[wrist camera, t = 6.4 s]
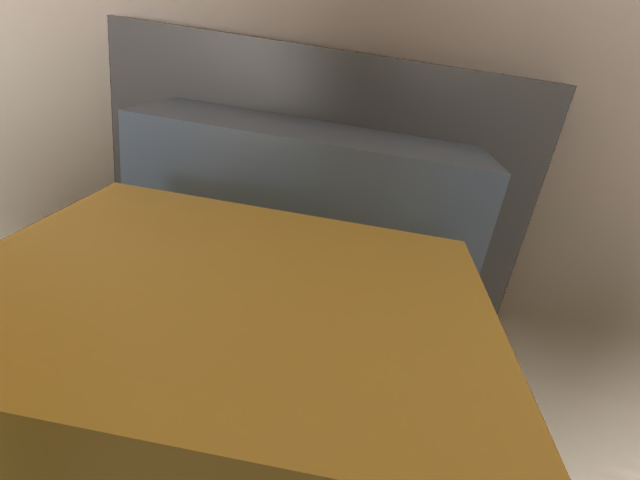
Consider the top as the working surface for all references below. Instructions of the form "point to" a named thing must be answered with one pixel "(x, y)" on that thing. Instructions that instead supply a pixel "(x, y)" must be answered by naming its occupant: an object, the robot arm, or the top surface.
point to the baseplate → (357, 97)
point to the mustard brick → (252, 350)
